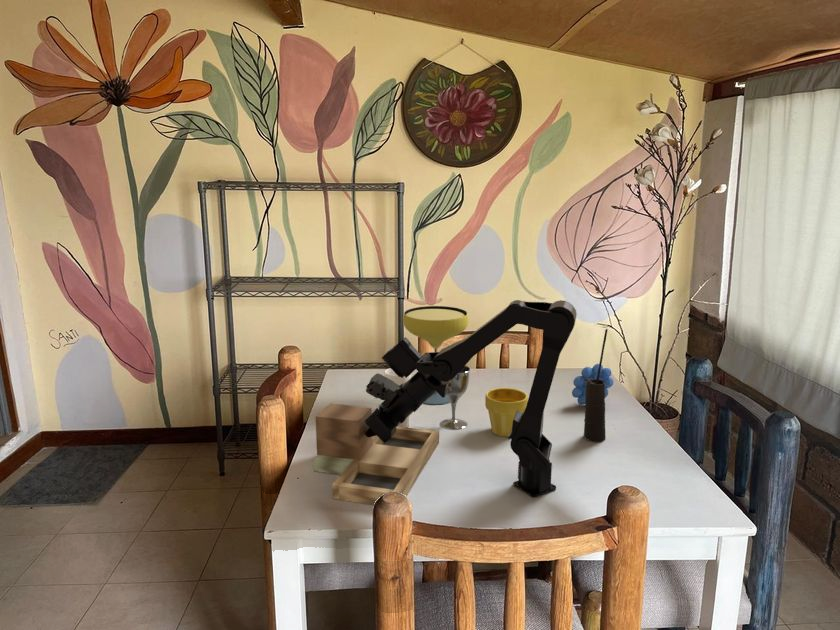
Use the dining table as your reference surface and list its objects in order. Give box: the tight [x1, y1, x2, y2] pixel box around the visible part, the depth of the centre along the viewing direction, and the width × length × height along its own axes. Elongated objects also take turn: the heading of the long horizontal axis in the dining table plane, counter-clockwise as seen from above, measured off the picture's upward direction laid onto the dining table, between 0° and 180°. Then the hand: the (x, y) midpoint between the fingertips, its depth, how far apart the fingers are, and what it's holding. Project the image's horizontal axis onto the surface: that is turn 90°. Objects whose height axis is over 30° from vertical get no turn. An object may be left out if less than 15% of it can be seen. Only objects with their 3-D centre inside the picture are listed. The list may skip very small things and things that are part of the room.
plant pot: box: [484, 387, 529, 438], centre depth 160 cm, size 10×10×10 cm
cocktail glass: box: [402, 305, 469, 406], centre depth 181 cm, size 18×18×25 cm
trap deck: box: [313, 426, 440, 506], centre depth 143 cm, size 23×32×3 cm
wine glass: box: [439, 364, 471, 431], centre depth 164 cm, size 8×8×15 cm
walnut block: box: [315, 403, 373, 460], centre depth 143 cm, size 10×8×9 cm
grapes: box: [571, 363, 614, 406], centre depth 178 cm, size 12×7×12 cm, turn 97°
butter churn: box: [583, 328, 608, 443], centre depth 155 cm, size 9×10×28 cm
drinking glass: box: [383, 367, 412, 428], centre depth 162 cm, size 7×7×15 cm
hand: (366, 435), depth 142 cm, fingers closed, pressing on walnut block
